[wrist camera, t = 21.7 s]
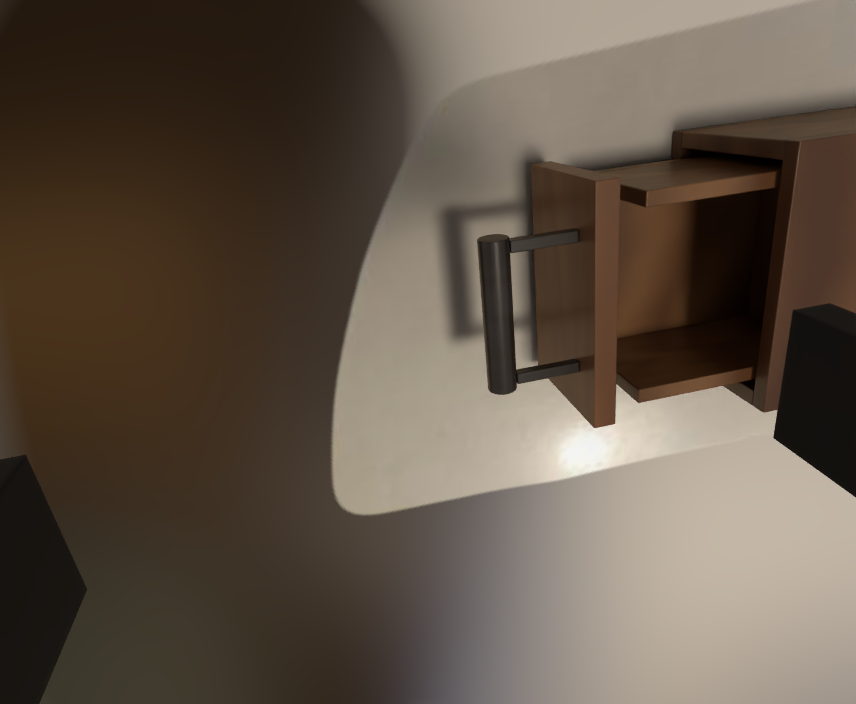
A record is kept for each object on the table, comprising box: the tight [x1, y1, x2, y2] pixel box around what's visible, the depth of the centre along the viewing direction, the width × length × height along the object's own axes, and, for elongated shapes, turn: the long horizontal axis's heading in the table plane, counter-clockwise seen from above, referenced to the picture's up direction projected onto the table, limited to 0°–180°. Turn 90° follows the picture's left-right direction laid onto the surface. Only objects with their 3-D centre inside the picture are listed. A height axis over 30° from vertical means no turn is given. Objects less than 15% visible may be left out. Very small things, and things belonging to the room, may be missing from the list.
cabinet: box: [672, 107, 856, 412], centre depth 35 cm, size 16×14×10 cm
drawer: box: [477, 153, 783, 428], centre depth 33 cm, size 20×13×8 cm, turn 96°
